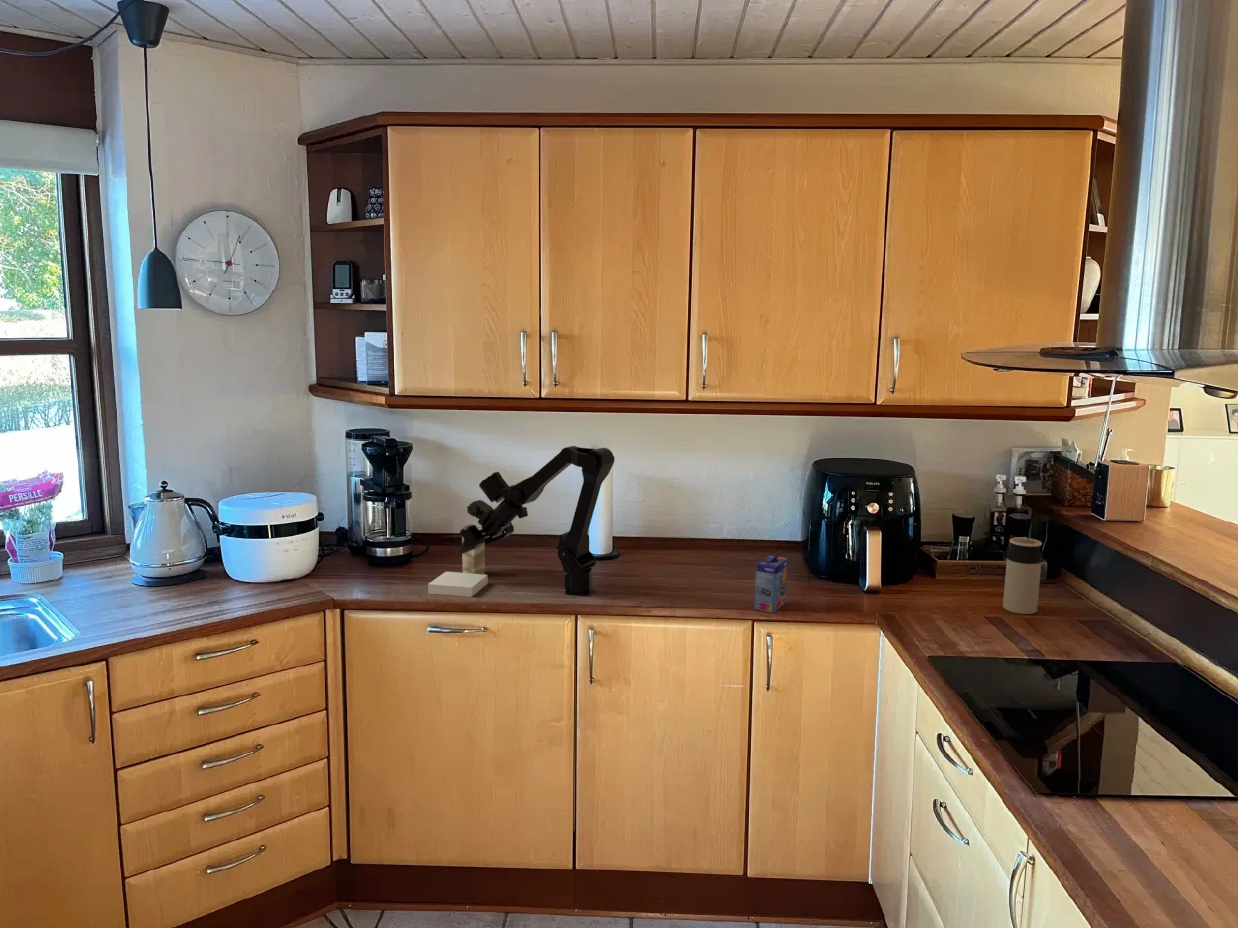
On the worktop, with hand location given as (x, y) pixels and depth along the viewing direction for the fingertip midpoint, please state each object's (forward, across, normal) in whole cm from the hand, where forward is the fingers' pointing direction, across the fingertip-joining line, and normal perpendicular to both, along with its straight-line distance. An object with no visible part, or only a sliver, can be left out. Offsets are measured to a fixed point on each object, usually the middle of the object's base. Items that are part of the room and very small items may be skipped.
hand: (470, 548), depth 258 cm
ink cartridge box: (-54, -13, +64) cm, 85 cm away
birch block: (+4, 0, +6) cm, 7 cm away
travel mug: (-94, -42, +104) cm, 146 cm away
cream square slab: (+1, +13, +9) cm, 16 cm away
